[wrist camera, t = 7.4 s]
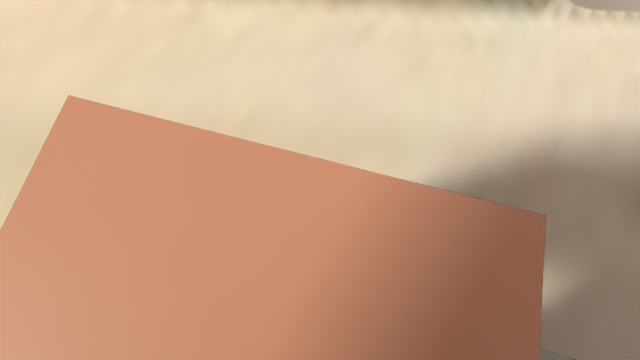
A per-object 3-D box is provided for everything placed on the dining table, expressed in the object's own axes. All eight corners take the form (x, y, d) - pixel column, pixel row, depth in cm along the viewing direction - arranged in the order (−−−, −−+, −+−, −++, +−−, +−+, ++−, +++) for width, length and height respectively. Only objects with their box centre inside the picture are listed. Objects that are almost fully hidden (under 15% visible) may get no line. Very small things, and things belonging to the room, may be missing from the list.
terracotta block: (323, 386, 14) (509, 992, 2) (203, 358, 14) (-293, 812, 2) (348, 263, 16) (546, 216, 4) (240, 236, 15) (68, 95, 4)
